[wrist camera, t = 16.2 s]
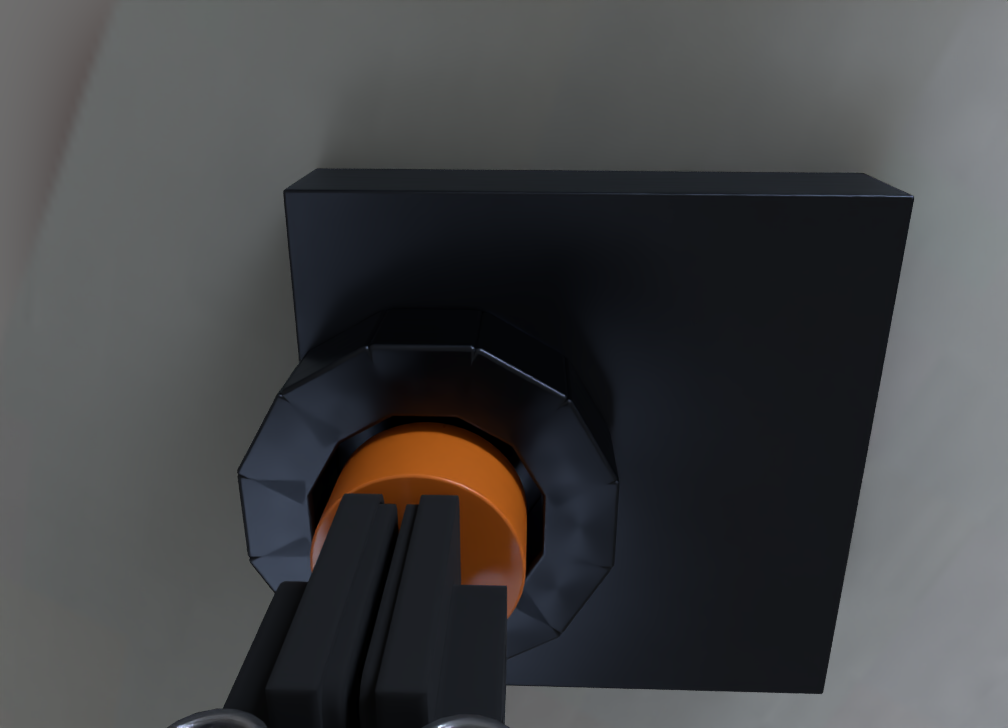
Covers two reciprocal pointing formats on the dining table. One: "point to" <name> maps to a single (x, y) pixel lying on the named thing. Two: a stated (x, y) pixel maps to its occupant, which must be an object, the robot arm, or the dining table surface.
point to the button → (445, 471)
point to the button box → (605, 396)
